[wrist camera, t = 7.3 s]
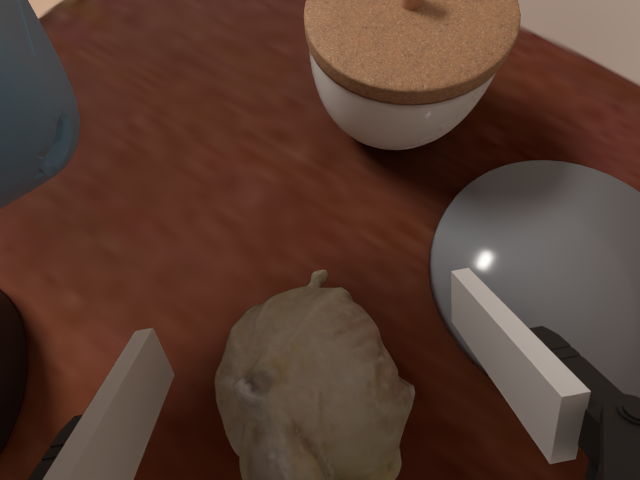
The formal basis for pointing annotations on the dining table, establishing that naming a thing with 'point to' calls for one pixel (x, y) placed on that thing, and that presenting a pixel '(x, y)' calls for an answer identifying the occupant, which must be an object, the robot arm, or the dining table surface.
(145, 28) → the dining table surface
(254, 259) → the dining table surface
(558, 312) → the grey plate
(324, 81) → the lidded jar
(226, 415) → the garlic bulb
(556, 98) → the dining table surface
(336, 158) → the dining table surface
